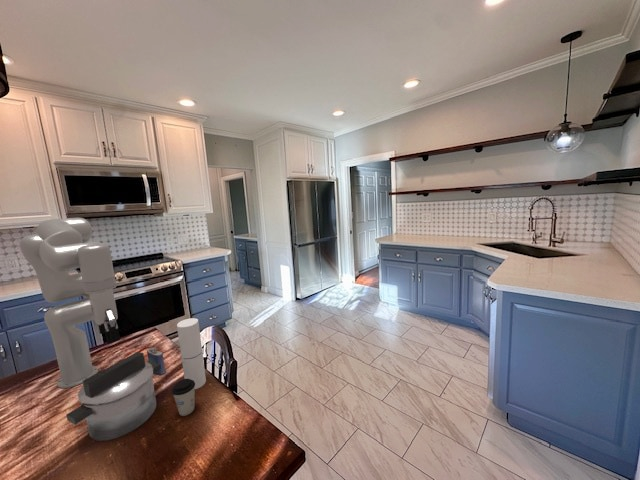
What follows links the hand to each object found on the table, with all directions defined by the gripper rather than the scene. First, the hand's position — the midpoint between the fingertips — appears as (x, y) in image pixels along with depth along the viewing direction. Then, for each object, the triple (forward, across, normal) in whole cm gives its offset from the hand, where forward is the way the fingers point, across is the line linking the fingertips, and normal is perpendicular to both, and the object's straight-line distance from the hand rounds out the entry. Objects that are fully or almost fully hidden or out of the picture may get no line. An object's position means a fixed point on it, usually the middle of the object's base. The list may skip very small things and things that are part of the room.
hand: (109, 336), depth 83 cm
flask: (+29, -17, +15) cm, 37 cm away
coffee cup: (+28, +15, +14) cm, 35 cm away
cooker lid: (+16, 0, 0) cm, 16 cm away
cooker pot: (+28, 0, 0) cm, 28 cm away
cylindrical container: (+28, +4, +22) cm, 36 cm away
